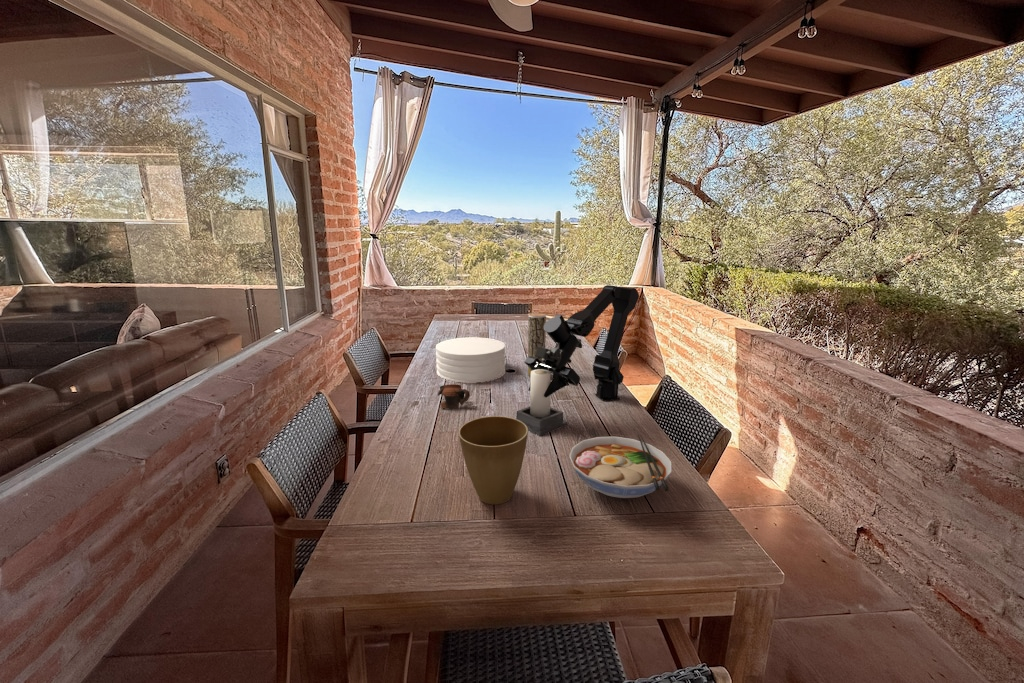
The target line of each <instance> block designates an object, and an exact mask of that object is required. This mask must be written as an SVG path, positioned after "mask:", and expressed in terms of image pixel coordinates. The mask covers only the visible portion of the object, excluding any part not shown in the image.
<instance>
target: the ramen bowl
mask: <svg viewBox="0 0 1024 683" xmlns="http://www.w3.org/2000/svg"><path fill="white" fill-rule="evenodd" d="M637 436H638V440H637V439H635V438H628V437H621V436H596V437H592V438H588V439H583V440H581V441H580V442H578V443H577V444H575V445H574V446H572V447H571V450H570V453H569V454H568V457H569V458H570V461H571V464H572V466H573V468H574V470H575V473H576V474H577V476H578V477H579V479H581V480H582V481H583V482H584V484H586V485H587V486H588V487H590V488H591V489H592V490H594V491H597V492H598V493H601V494H603V495H606V496H609V497H614V498H619V499H631V498H632V499H633V498H639V497H643V496H646V495H649V494H651V493H653V492H655V491H660V486H663V489H664V491H665V492H669V490H670V488H669V485H668V484H667V482H666V480H667V479H668V478H669V477H670V475H671V473H672V472H673V462H672V460H671V459H670V458H669V457H668V456H667V454H666V453H665V452H664V451H663V450H660V449H659V448H658V447H655V446H654V445H652V444H650V443H647V442H645V440H644V438H643V437H642V435H641V434H637Z"/></svg>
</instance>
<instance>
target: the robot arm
mask: <svg viewBox="0 0 1024 683" xmlns="http://www.w3.org/2000/svg"><path fill="white" fill-rule="evenodd" d="M639 294H640V293H639V292H638V290H637V288H634V287H627V286H626V287H624V286H617V285H610V284H609V285H608V284H607V285H604V286H603V288H602V290H601V291H600V292H598V294H597V295H596V296H595V298H594V299H593V300H591V301H590V303H589V304H588V305H587V306H586V307H585V308H584V309H582V310H579V311H577V312H575V313H573V314H572V315H570V316H569V317H568V318H567V320H565V318H564V316H563V315H562V314H558V313H557V314H555V316H554V317H551V318H549V319H548V320H546V323H545V324H544V330H545V331H546V335H548V336H549V337H550V339H551V340H552V341H553V342H554V343H555V344H556V345H555V346H554V347H550V348H549V349H548V348H546V347H545V348H542V347H539V346H538V348H537V351H536V354H535V357H540V358H542V361H543V362H544V363H545V364H543V363H542V362H541V361H540V360H539V359H538V358H535V357H532V356H529V357H528V356H527V358H525V361H524V364H525V365H526V366H527V368H528V367H529V368H530V369H531V370H537V369H544V370H548V371H550V372H551V374H552V378H551V383H550V385H549V386H548V388H547V390H546V392H545V394H544V397H548V396H550V397H551V395H553V394H554V393H556V392H558V391H559V390H560V389H563V388H565V387H566V386H568V387H569V386H570V385H572V386H575V387H578V386H579V383H580V382H581V377H580V375H579V374H578V373H577V372H576V370H575V369H574V368H571V367H568V366H567V364H571V363H572V360H571V357H572V355H573V354H574V352H575V350H577V348H578V349H582V348H583V344H582V339H581V338H577V336H580V337H582V338H583V337H584V338H586V337H588V336H589V335H590V334H591V332H592V331H593V329H594V327H595V322H596V320H597V319H598V318H599V317H600V316H601V315H602V314H603V312H604V311H605V310H606V309H607V308H608V307H609V306H610V305H612V309H613V314H612V317H611V320H610V325H609V328H608V331H607V335H606V339H605V343H604V347H603V350H602V352H601V353H600V354H596V355H595V356H594V361H593V364H592V371H593V376H594V377H593V378H594V380H597V382H598V384H597V385H596V393H595V394H594V395H595V396H596V397H597V398H599V399H600V400H602V401H603V402H608V401H615V400H617V399H618V400H621V397H620V396H619V385H621V383H623V382H624V381H623V380H624V378H625V377H624V375H623V373H622V372H621V371H620V365H621V363H620V359H619V356H618V354H619V350H620V347H621V343H622V338H623V335H624V332H625V329H626V328H625V327H626V323H627V322H628V321H627V320H628V317H629V314H630V313H632V311H634V309H635V308H636V306H637V303H638V301H639V298H640V295H639ZM530 385H531V380H530V382H529V387H528V391H529V392H530Z"/></svg>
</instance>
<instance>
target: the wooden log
mask: <svg viewBox="0 0 1024 683" xmlns="http://www.w3.org/2000/svg"><path fill="white" fill-rule="evenodd" d="M527 320H528V323H527V324H528V327H527V328H528V330H527V331H528V333H527V335H528V336H527V337H528V339H527V340H528V341H527V357H529V356H532V357H535V354H536V351H537V348H538V346H539V347H542V348H546V338H547V336H546V335H547V333H546V331H545V330H544V324H545V323H546V321H547V315H546V313H541V312H536V313H535V312H531V313H528V318H527ZM535 358H538V359H539V360H540V361H541V362H542V363H543V364H545V363H544V362H543V361H542V358H540V357H535ZM531 371H532V370H531V369H530V368H529V367H528V366H527V375H528V377H530V378H531Z"/></svg>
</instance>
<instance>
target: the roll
mask: <svg viewBox="0 0 1024 683" xmlns="http://www.w3.org/2000/svg"><path fill="white" fill-rule="evenodd" d="M530 381H531V385H530V384H529V386H530V391H529V392H530V400H529V402H530V403H529V404H530V405H529V407H530V414H531V415H532V416H535V417H547V416H549V415H550V407H551V395H550V396H548V397H544V394H545V392H546V390H547V388H548V386H549V385H550V383H551V381H552V373H551V372H550V371H548V370H544V369H537V370H532V371H531V377H530Z"/></svg>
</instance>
